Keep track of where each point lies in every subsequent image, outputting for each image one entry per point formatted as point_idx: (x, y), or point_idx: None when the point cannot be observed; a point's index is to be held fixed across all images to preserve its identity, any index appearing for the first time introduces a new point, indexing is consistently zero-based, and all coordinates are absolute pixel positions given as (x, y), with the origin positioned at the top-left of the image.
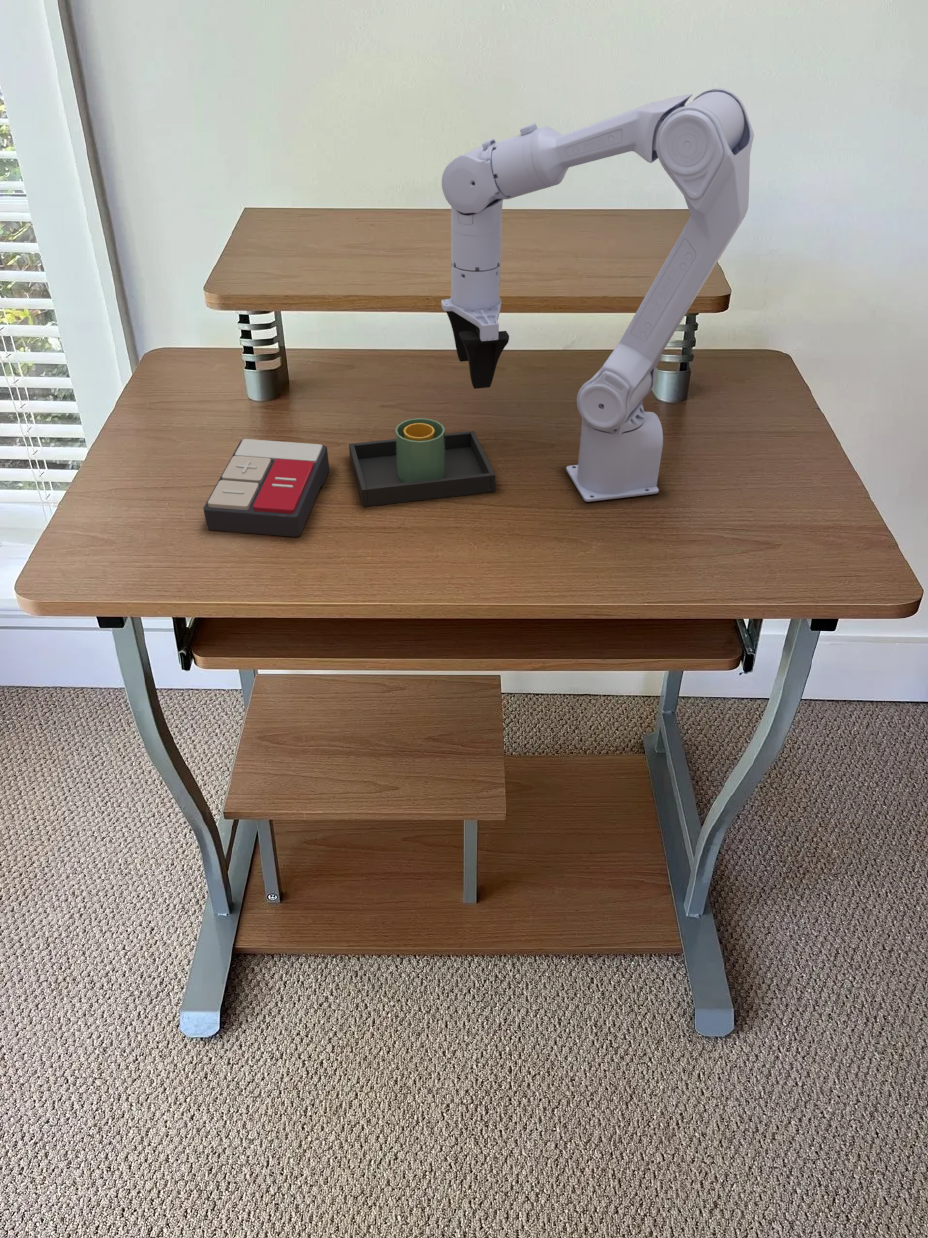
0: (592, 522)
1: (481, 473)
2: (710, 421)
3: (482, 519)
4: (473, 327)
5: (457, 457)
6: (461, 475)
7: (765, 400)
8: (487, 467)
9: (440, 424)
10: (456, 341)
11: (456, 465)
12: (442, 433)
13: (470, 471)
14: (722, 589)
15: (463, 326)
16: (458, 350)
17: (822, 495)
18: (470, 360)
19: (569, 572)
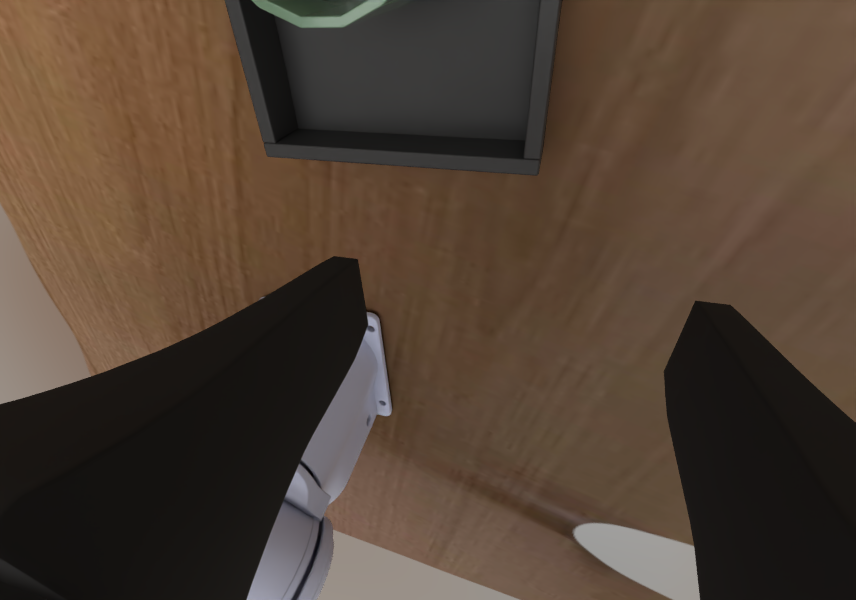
0: (206, 279)
1: (366, 128)
2: (495, 525)
3: (170, 66)
4: (725, 577)
5: (471, 77)
6: (360, 61)
7: (530, 581)
8: (303, 147)
9: (350, 15)
10: (753, 393)
11: (422, 59)
12: (263, 5)
13: (381, 98)
14: (95, 346)
15: (776, 558)
16: (718, 346)
17: None
18: (164, 349)
19: (51, 187)
